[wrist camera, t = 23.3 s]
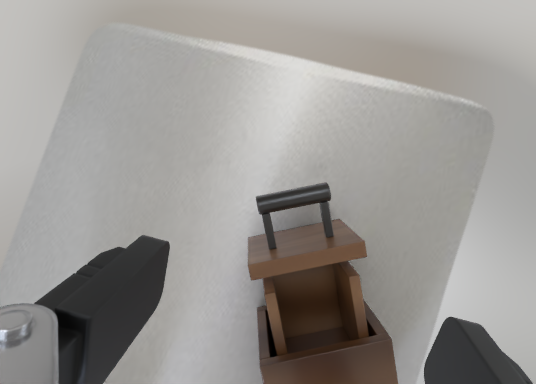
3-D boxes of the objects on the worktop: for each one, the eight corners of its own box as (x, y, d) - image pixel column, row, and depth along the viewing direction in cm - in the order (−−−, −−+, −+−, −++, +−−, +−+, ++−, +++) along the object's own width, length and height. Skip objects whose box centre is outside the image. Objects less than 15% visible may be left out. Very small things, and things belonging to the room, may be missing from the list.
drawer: (238, 191, 30) (235, 207, 23) (331, 173, 30) (356, 182, 23) (270, 342, 32) (275, 396, 25) (356, 323, 32) (384, 372, 25)
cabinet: (256, 307, 32) (259, 366, 24) (354, 286, 32) (391, 338, 24) (279, 411, 34) (289, 501, 26) (371, 391, 34) (411, 474, 26)
